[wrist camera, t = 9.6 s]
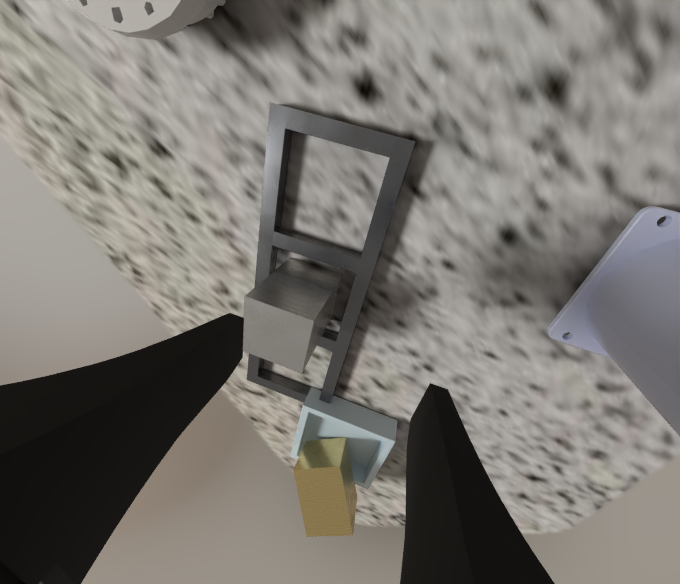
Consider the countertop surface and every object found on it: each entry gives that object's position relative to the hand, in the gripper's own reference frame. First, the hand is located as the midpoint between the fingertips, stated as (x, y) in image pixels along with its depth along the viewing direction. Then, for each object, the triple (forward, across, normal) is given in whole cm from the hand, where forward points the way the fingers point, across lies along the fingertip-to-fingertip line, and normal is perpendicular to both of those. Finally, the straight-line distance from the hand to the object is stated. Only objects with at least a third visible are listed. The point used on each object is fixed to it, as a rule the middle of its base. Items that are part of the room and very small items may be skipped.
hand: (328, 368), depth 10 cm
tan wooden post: (+7, 0, +17) cm, 19 cm away
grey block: (+10, +4, +3) cm, 11 cm away
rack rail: (+10, +4, +3) cm, 11 cm away
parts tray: (+10, -2, +17) cm, 20 cm away
